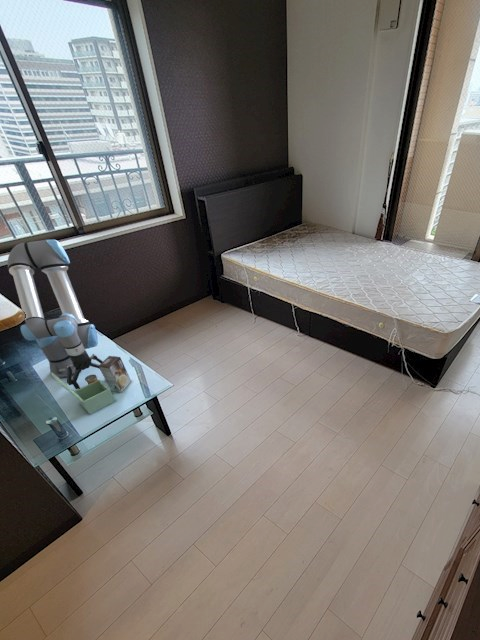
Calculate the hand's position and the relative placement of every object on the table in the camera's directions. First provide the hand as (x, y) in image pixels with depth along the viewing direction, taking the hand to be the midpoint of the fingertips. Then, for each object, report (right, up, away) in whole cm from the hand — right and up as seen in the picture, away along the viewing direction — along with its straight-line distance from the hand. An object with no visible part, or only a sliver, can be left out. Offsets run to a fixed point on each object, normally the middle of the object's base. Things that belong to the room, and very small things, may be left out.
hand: (95, 386), depth 177 cm
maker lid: (+2, -1, -23) cm, 23 cm away
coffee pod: (0, 0, 0) cm, 0 cm away
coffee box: (+13, 0, 0) cm, 14 cm away
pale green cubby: (+7, -8, -9) cm, 14 cm away
